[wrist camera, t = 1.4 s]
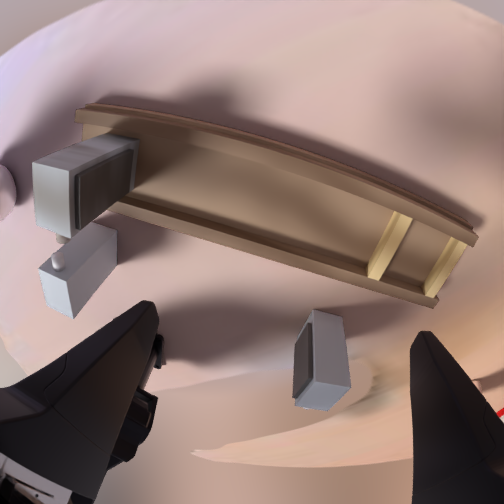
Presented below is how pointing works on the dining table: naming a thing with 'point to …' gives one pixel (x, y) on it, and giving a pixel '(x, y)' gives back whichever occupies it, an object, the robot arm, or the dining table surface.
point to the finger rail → (249, 200)
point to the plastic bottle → (6, 193)
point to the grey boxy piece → (320, 362)
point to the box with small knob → (79, 268)
